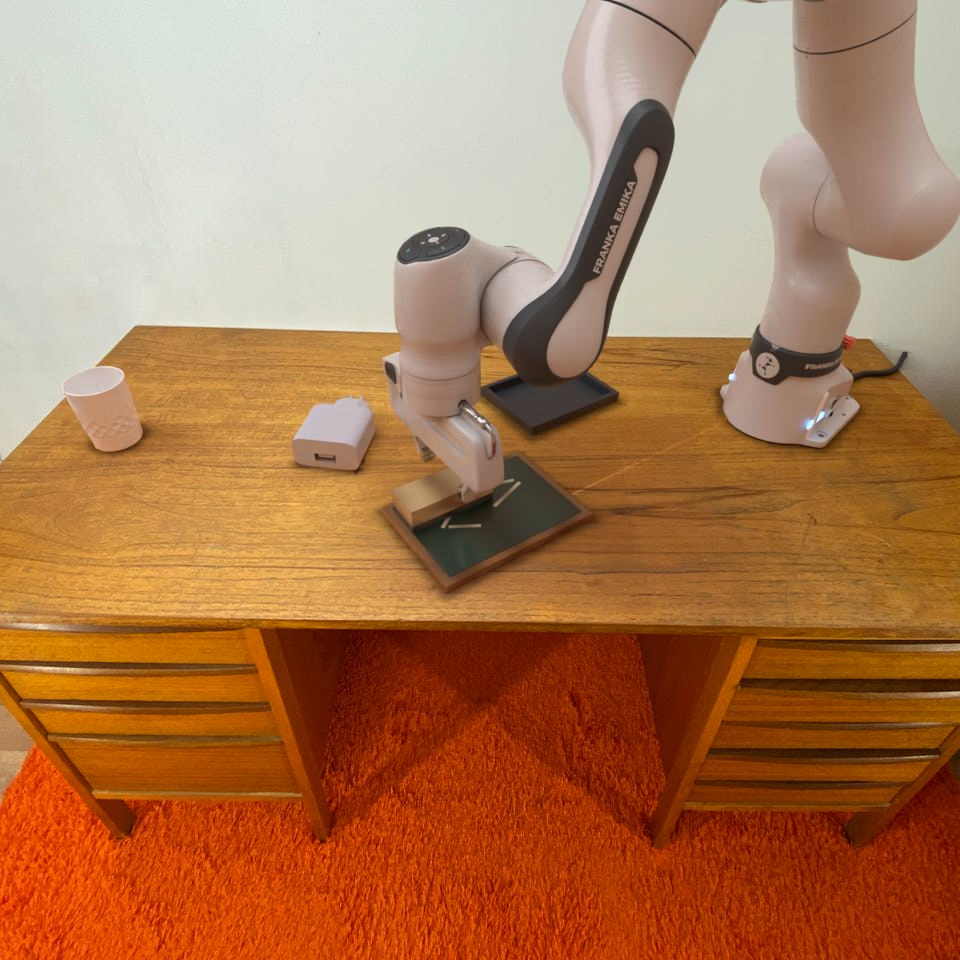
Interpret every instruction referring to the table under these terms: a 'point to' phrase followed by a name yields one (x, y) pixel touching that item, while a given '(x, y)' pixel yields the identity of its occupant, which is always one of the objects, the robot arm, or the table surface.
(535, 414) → the tray
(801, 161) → the robot arm
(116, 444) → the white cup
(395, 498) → the eraser
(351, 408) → the charger
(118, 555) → the table surface
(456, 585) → the board
